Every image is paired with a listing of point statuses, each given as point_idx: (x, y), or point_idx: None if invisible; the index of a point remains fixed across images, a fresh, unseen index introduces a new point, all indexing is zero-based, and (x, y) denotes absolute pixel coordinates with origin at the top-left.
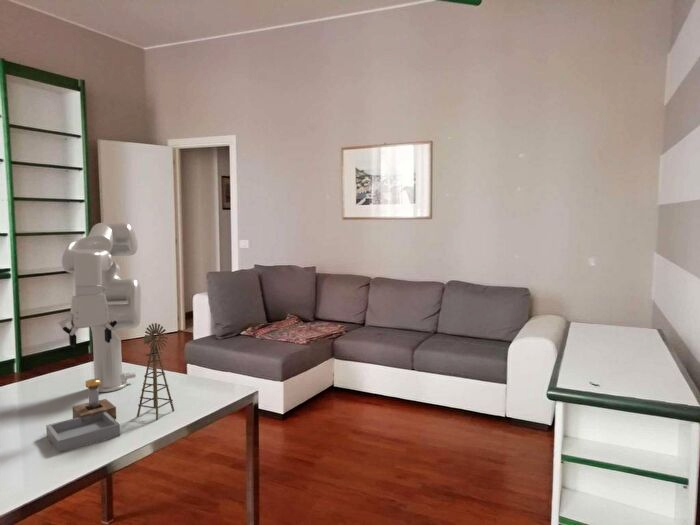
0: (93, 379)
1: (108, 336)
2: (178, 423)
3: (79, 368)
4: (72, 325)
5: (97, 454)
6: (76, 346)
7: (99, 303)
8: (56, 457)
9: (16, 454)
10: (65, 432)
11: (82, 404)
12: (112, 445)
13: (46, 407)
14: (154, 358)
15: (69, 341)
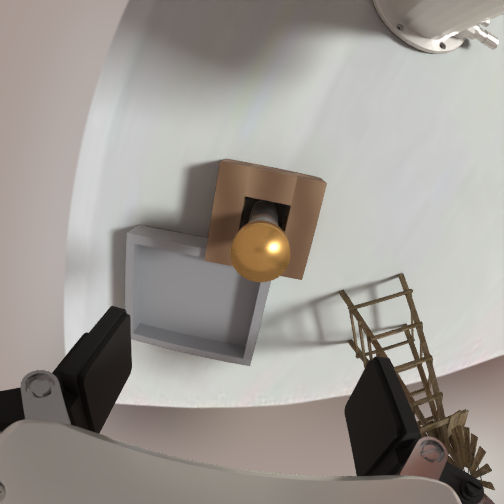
0: (271, 237)
1: (354, 447)
2: (356, 383)
3: None
4: (29, 426)
5: (184, 379)
6: (128, 374)
7: None
8: None
9: (79, 266)
10: (167, 257)
11: (250, 170)
12: (217, 372)
13: (218, 10)
14: (440, 406)
15: (77, 342)
